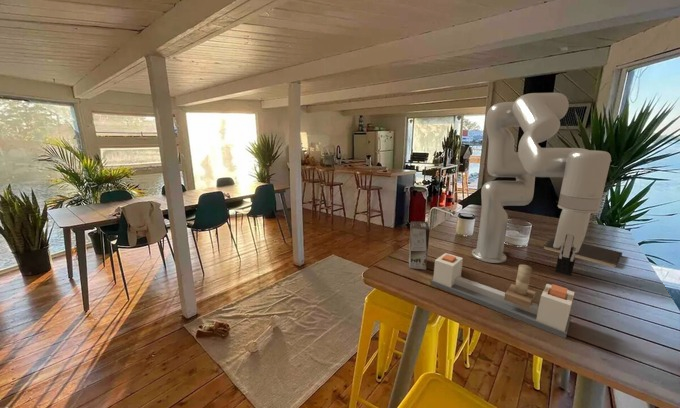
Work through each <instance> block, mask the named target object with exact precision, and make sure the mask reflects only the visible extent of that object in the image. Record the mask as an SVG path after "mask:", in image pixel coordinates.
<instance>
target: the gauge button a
mask: <svg viewBox="0 0 680 408" xmlns="http://www.w3.org/2000/svg"><path fill="white" fill-rule="evenodd" d="M454 256H455V255H454ZM454 256H450V255H447V254H446V255H445V256H444V257H442V260H444V261H448V262H451V263H453V262H455V261H456V257H454Z"/></svg>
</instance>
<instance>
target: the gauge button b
mask: <svg viewBox="0 0 680 408" xmlns="http://www.w3.org/2000/svg"><path fill="white" fill-rule="evenodd" d="M551 285H552V287H551V289H550V294H549V295H552V296H555V297H558V298H561V299H564V300H565V299H566V294H567V290H569V289H568V288H567V287H563V286H559V285H557V284H553V283H552V284H551Z"/></svg>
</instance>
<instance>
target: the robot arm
mask: <svg viewBox="0 0 680 408" xmlns="http://www.w3.org/2000/svg"><path fill="white" fill-rule="evenodd" d="M569 106H570V104H569V99H568V97H567V96H566V95H565V94H563V93H560V92H531V93H526V94H522V95H520V96H519V97H518V98H516V100H515V101H505V102H503V101H502V102H499V103H495V104H493V105H491V107H489V109H488V110H487V113H486V117H485V128H486V133H487V137H488V149H487V167H486V168H487V173H488V175H489V176H490V177H494V178H495V177H496V178H515V180H490V181H487V182H485V183H484V184H483V185H482V187H481V191H480V195H481V211H480V212H481V213H480V218H479V219H480V220H479V225H478V227H479V228H478V235H477V242H476V248H473V249H472V250H471V255H472V256H473V258H475V259H477V260H479V261H482V262H485V263H491V264H492V263H493V264H503V263H505V262H506V261H507V255H506V254H505V253H504V248H505V247H504V246H505V241H506V235H507V228H508V221H509V216H508V213H507V212H506V210H505V209H504V207H505V206H506V207H507V206H510V207H511V206H513V207H515V206H526V205H529V204H530V203H531V202H532V201H533V198H534V193H535V182H536V178H562V183H561V188H560V192H559V193H560V194H559V198H558V204H557V207H558V209H561V212H560V215H559V219H558V223H557V226H556V227H557V229H556V231H555V232H556V233H555V236H554V237H555V241H554V245H553V247H554V248H555V249H556V248H559V247H560V246H561V250H560V253H559V255H558V257H557V262H556V266H555V270H554V272H555V273H558V274H561V275H564V276H565V275H566V276H569V277H571V276H572V275H573V271H574V268H575V267H574V266H575V263H576V262H575V261H576V259H575V258H576V257H575V253H577V252H579V250H580V247H581V245H582V243H583V242H584V240H585V237H586V234H587V231H588V228H589V223H590V218H591V214H596V213H597V214H598V213H599V212H600V209H601V203H602V200H603V194H604V190H605V186H606V182H607V178H608V173H609V168H610V165H611V161H612V160H611V158H612V156H611V154H610V153H609V152H608V151H605V150H596V149H595V150H592V149H590V150H589V149H586V148H582V147H581V148H580V147H541V145H539V143H543V142H545V141H547V140H549V139H551V138H553V137H554V136H555V135H556V134H557V133H558V132H559V129H560V128H561V121H560V120H562V119H563V118H564V117H565V116H566V115H567V112H568V110H569ZM509 127H511V128H512V127H515V128H518V127H519V128H521V131H523V134H522V136H521V138H520V139H519V142H518V149H517V151H515V143H516V142H515V137H514V135H513V133H512V132H511V131H510V130H509V129H508V128H509ZM583 244H584V243H583Z"/></svg>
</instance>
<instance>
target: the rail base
mask: <svg viewBox="0 0 680 408" xmlns="http://www.w3.org/2000/svg"><path fill="white" fill-rule="evenodd" d="M446 254H447V255H450V256H454V257H456V261H455V262H453V263H451V262H448V261H444V260H442V257H444V256H445V255H446ZM463 259H464V258H463V257H461V256H457V255H454V254H450V253H447V252H445V253H443V254H441V255H440V256H439V257H437V258H436V259H435V260H434V267H433V278H432V279H431V280H430V285H431V286H432V287H436V288H437V289H441V290H443V291H446V292H448V293H451V294H453V295H456V296H458V297H461V298H464V299H466V300H468V301H470V302H473V303H476V304H479V305H480V306H483V307H486V308H488V309H491V310H493V311H496V312H498V313H501V314H503V315H506V316H508V317H510V318H512V319H516V320H518V321H520V322H523V323H526V324H528V325H531V326H533V327H536V328H538V329H540V330H543V331H546V332H547V333H551V334H553V335H555V336H558V337H561V338H563V339H566V338H567V335H568V331H569V327H570V324H571V319H572V316H571V315H570V312H571V309H572V304H573V300H574V296H575V291H572V290H569V289H568V290H567V294H566V299H565V300H564V299H561V298H558V297H555V296H552V295H549V294H550V289H551V287H552V284H549V283H546V284H545V287H544V289H543V291H542V292H541V293H542V294H540V299H539V303H536V302H534V301H533V302H532V304H531V306H530V308H529V309H528V308H525V307H523V306H520V305H517V304H515V303H512V302H509V301H506V300H504V297H505V293H506V292H505V291H502V290H499V289H496V288H494V287H491V286H488V285H485V284H482V283H479V282H477V281H473V280H470V279H468V278H465V277H463V276H462V269H463Z"/></svg>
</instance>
